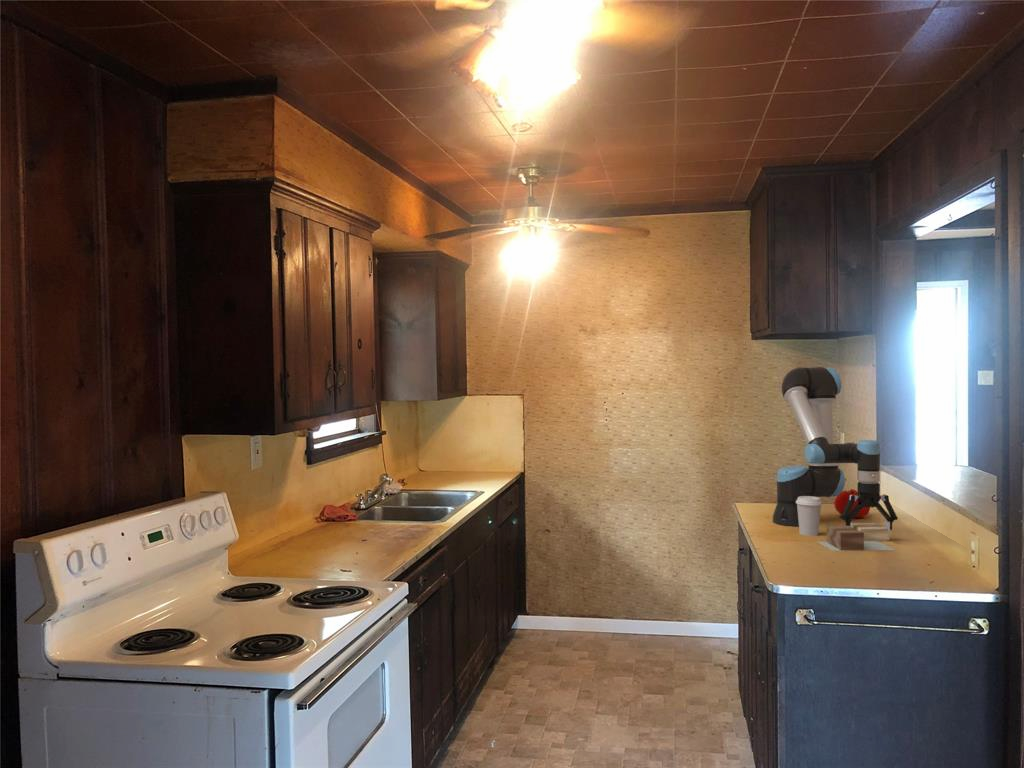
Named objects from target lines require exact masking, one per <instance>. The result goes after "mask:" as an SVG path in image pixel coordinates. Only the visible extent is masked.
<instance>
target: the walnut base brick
mask: <svg viewBox="0 0 1024 768" xmlns="http://www.w3.org/2000/svg"><path fill="white" fill-rule="evenodd" d="M826 542H827V543H829V544H831V545H832V546H834V547H836V548H838V549H839V551H865V550H864V533H863V532H861V531H859V530H857V529H854V528H852V527H850V526H846V525H827V526H826Z"/></svg>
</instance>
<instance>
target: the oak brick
mask: <svg viewBox="0 0 1024 768" xmlns="http://www.w3.org/2000/svg"><path fill="white" fill-rule="evenodd" d="M853 528H854V529H857V530H859V531H861V532H863V533H864V541H878V542H889V540H888V529H887V528H885V527H884V526H883V525H881V524H879V523H877V522H863V523H862V522H858V523H857V522H853Z"/></svg>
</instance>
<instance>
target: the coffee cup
mask: <svg viewBox="0 0 1024 768" xmlns="http://www.w3.org/2000/svg"><path fill="white" fill-rule="evenodd" d="M796 503H797V510H798V521H799V526H798V530H799V534H800V535H801V536H802V535H803V536H806V537H807V536H810V537H811V536H812V537H815V536H819V531H820V530H819V529H820V521H821V511H822V505H823V501H822V500H821V497H813V496H800V497H798V499H797V500H796Z"/></svg>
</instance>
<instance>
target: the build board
mask: <svg viewBox="0 0 1024 768" xmlns="http://www.w3.org/2000/svg"><path fill="white" fill-rule="evenodd" d="M817 543H819V544H820V545H822V546H824V547H825V548H827V549H829V550H831V551H832V552H833V551H836V552H837V551H840V550H839V549H838V548H836V547H834V546H832V545H831V544H829V543H827V541H817ZM863 551H896V549H895V548H893V547H891V546H889V545H886V544H884V543H882V542H881V541H864V550H863Z"/></svg>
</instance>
